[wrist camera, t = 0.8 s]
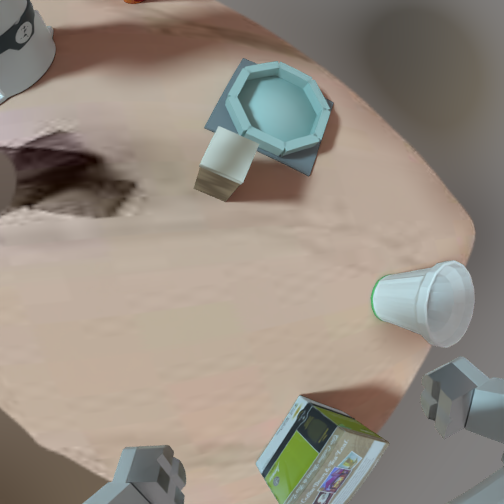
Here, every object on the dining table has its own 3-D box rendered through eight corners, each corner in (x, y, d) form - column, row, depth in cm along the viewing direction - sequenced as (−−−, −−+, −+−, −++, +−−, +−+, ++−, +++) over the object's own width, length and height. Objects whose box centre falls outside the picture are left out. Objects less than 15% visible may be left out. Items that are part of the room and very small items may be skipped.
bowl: (211, 129, 45) (214, 119, 41) (248, 60, 47) (253, 49, 43) (303, 171, 48) (312, 165, 45) (328, 100, 50) (337, 91, 47)
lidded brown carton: (192, 188, 44) (200, 163, 33) (207, 158, 45) (218, 125, 34) (225, 202, 45) (243, 182, 34) (238, 171, 46) (259, 144, 35)
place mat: (204, 128, 45) (204, 127, 44) (242, 59, 47) (243, 58, 47) (308, 176, 48) (309, 175, 48) (332, 103, 51) (333, 102, 50)
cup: (376, 251, 51) (441, 244, 36) (420, 280, 54) (482, 281, 39) (350, 318, 49) (412, 332, 34) (398, 341, 52) (459, 357, 37)
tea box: (299, 474, 46) (335, 520, 31) (253, 462, 44) (282, 515, 29) (342, 409, 48) (393, 444, 34) (298, 392, 46) (344, 431, 32)
